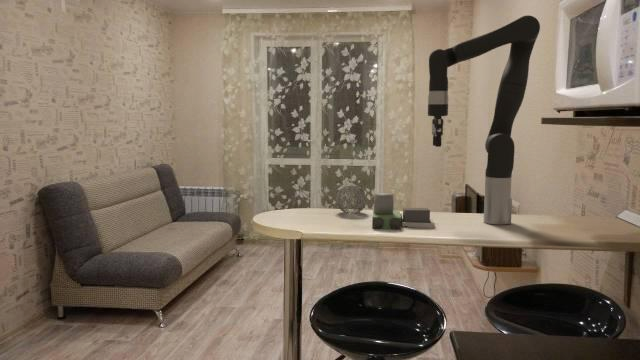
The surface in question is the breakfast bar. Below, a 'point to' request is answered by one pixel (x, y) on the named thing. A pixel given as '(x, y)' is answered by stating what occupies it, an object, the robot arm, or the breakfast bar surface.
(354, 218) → the breakfast bar surface
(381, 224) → the toy tractor
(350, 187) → the pendant light
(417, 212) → the grey rectangular block
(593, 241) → the breakfast bar surface
